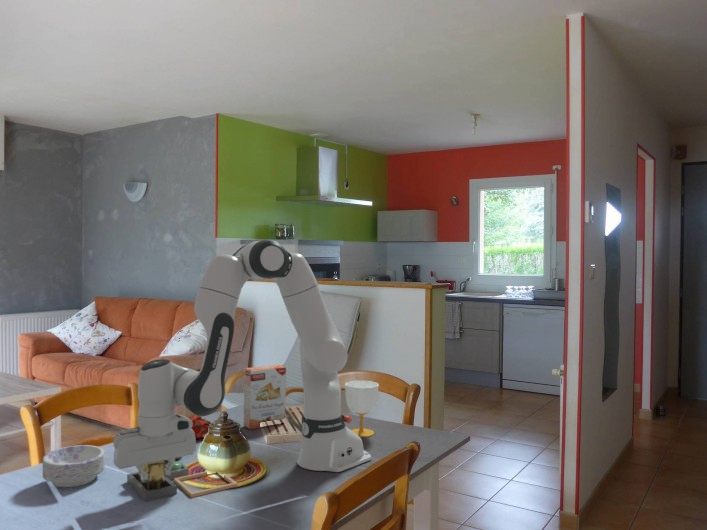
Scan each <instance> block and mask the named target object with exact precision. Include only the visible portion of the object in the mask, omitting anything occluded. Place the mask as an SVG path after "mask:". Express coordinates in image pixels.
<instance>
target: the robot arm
mask: <svg viewBox="0 0 707 530" xmlns="http://www.w3.org/2000/svg"><path fill="white" fill-rule="evenodd" d="M270 279H271V280H273V281H274V282H275V283H276V285H277V287H278V290H279V292H280V295H281V298H282V300H283V303H284V306H285V309H286V311H287V313H288V316H289V318H290V321H291V324H292V325H293V328H294V329H295V332H296V334H297V335H298V337H299V339H300V342H299V352H300V367H301V368H300V369H301V378H302V387H303V389H302V390H303V400H302V401H303V406H302V407H303V410H302V414H301V435H302V436H301V445H300V449H299V454H298V458H297V463H296V464H297V465H298V466H299V467H301V468H303V469H306V470H310V471H315V472H316V471H319V472H324V471H326V472H333V473H339V472H340V473H341V472H344V471H345V470H349V469H351V468H353V467H356V466H359V465H361V464H364V463H366V462H368V461H371V460H372V456H371V453H369V452H368V451H367V450H364V444H363V440H362V437H359V436H358V435H357V434H355V433H354V432H353V431H351V430H352V429H351V428H349V427H347V426H346V424H345V423H347V424H351V423H352V422H353V421H352V420H353V418H352V417H351V416H349V415H344V414H342V413H341V401H342V400H341V399H342V398H341V395H342V393H341V392H342V389H341V384H340V381H339V380H340V379H339V373H338V372H340V371H341V370H342V369H344V367H345V366H346V365H347V362H348V355H349V354H348V350H347V348H346V346H345V343H344V342H343V340H342V339H343V338H342V337H341V334H340V332H339V330H338V328H337V326H336V324H335V322H334V320H333V318H332V316H331V314H330V312H329V310H328V308H327V306H326V303H325V300H324V297H323V295H322V294H323V293H322V292H321V289H320V287H319V284H318V281H317V279H316V276H315V274H314V272H313V269H312V268H311V266H310V265H309V263H308V261H307V260H306V258H305V257H304V255H302V254H300V253H297V252H289V251H288V250H286V248H285V247H284V246H283V245H282V244H280V243H279V242H277V241H276V240H273V239H262V240H255V241H252V242H250V243H248V244H245V245H243V246H241V247H240V248H238V249H237V250H236V251H235V252H234V253H233V254H229V253H228V254H227V253H222V254H217V255H216V256H214V257H213V258H212V259H211V261H210V262H209V264H208V265H207V267H206V269H205V272H204V274H203V276H202V279H201V280H200V284H199V287H198V290H197V293H196V296H195V299H194V300H195V301H194V307H193V311H194V314H195V316H196V318H197V320H198V321H199V322H200V324H201V325H202V327H203V329H204V330H205V334H206V345H205V349H204V355H203V358H202V362H201V365H200V370H199V371H198V370H195V369H192V368H188V367H183V366H181V365H179V364H177V363H174V362H172V361H171V360H170V359H167V358H161V359H154V360H151V361H148V362H146V363H145V364H144V365H142V366H141V368H140V370H139V374H138V381H137V382H138V383H137V399H138V404H139V406H138V409H137V427H132V428H127V429H121V430H119V431H118V432H116V434H114V436H113V447H114V452H113V464H114V466H116V468H118V469H119V470H123V469H127V468H132V467H135V468H136V469H137V471H138V470H139V472H140V473H141V481H142V482H143V481H147V480H149V478H148V477H149V474H148V473H147V472H144V471H143V470H142V469H143V468H144V464H148V463H153V462H158V461H163V460H167V461H169V462H167V461H166V462H167V463H166V465H167V466H166V468H165V477H166V476H170V475H171V468H172V467H173V465H174V463H175V462H176V461H175V458H177V457H182V458H183V457H186V456H187V457H188V456H192V455H193V454H195V452H196V450H197V440H196V439H197V438H195V433H194V431H193V430H192V429H191V428H192V426H193V422H192V421H191V420H190V419H189V418H187V417H188V416H187V417H185V415H182V414H178V413H175V408H176V407H179V406H180V407H182V408H185V409H188V411H189V412H191V413H193V415H195V416H201V417H207V416H209V415H212V414H213V413H215V412H216V411H217V410H218V409H219V408H220V407H221V406H222V404H223V402H224V399H225V395H226V384H225V381H226V380H225V379H226V372H227V367H228V362H229V358H230V353H231V349H232V345H233V339H234V333H235V314H236V309H237V306H238V302H239V299H240V295H241V292H242V289H243V287H244V285H245V284H246V282H248V281H265V280H270Z"/></svg>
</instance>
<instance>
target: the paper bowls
mask: <svg viewBox="0 0 707 530" xmlns="http://www.w3.org/2000/svg"><path fill="white" fill-rule="evenodd" d="M105 454H106V451H105V450H104V449H103V448H102V447H100V446H97V445H91V444H79V445H78V444H77V445H76V444H75V445H71V446H65V447H64V446H63V447H60V448H56V449H55V450H51V451H50V452H48V453H46V454H45V455H44V456H43V457H42V478H43V480H44V481H46V482H49V483H51V484H52V485H53V487H54V488H57V487H58V488H73V487H79V486H84V485H86V484H90V483H91V482H93V481H94V480H95V479H96V478H97V476H98V475H100V474H102V473H103V472H104V471H105V467H106V460H105V458H106V456H105Z"/></svg>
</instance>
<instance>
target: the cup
mask: <svg viewBox="0 0 707 530" xmlns="http://www.w3.org/2000/svg"><path fill="white" fill-rule="evenodd" d="M379 387H380V385H379V383H378V382H375V381H372V380H360V379H359V380H352V381H347V382H345V384H344V390H345V391H344V393H345V401H346V405H347V406H348V407H347V408H348V409H349V410H350V411H351V412H353V413H354V414H356V415H359V428H353V429H350V430H351V431H353V432H354V433H355V434H357V435H358V436H359V437H360V438H367V437H371V436H372V437H373V436H374V435H375V432H374V431H373V430H372V429H368V428H364V423H363V422H364V416H365V415H367V414H370V413H372V412H373V410H375V408H376V406H377V402H378V396H379Z"/></svg>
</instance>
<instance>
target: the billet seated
mask: <svg viewBox="0 0 707 530" xmlns="http://www.w3.org/2000/svg"><path fill="white" fill-rule="evenodd" d="M142 470H143V471H144V472H147V464H144V468H143V469H142ZM137 472H138V481H139V482H142V481H141V473H140V472H139V470H138V469H137Z"/></svg>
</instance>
